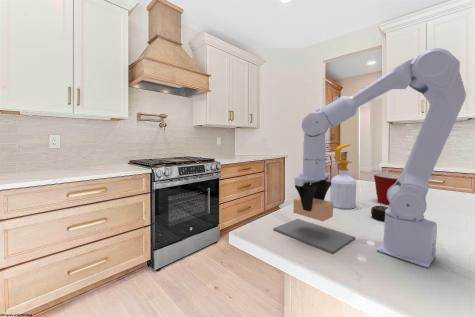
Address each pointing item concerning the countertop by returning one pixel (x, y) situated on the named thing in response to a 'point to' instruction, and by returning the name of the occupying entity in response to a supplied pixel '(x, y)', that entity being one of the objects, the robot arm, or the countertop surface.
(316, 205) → the card case
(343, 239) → the mat
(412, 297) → the countertop surface
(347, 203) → the soap bottle
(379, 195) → the plastic cup
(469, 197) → the countertop surface
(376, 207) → the tape measure
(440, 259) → the countertop surface
